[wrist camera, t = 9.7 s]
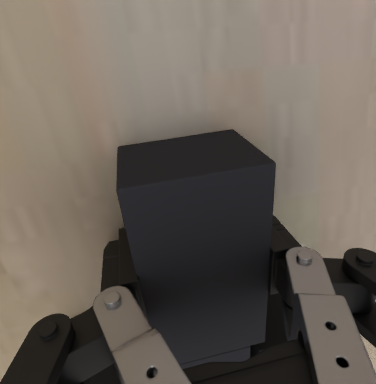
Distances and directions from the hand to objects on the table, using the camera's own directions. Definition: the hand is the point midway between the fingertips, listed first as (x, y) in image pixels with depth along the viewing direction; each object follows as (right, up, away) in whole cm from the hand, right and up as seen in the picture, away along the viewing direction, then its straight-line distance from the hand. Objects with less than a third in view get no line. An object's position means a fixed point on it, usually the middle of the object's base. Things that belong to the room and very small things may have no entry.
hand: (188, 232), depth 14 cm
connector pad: (0, -1, +1) cm, 2 cm away
